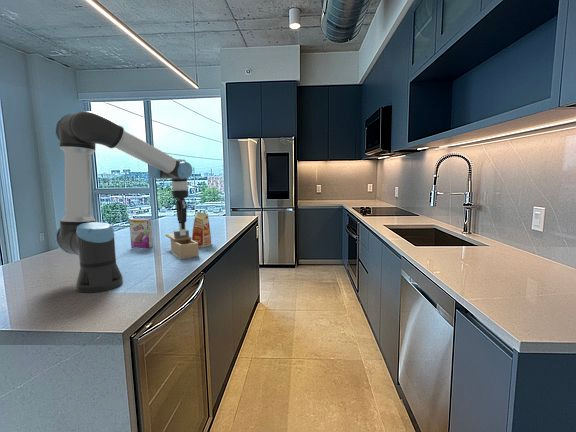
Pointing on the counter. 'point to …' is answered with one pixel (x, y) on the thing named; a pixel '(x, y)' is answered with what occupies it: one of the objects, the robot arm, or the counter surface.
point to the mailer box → (185, 248)
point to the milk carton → (201, 230)
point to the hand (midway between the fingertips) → (182, 235)
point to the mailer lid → (178, 236)
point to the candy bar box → (141, 233)
